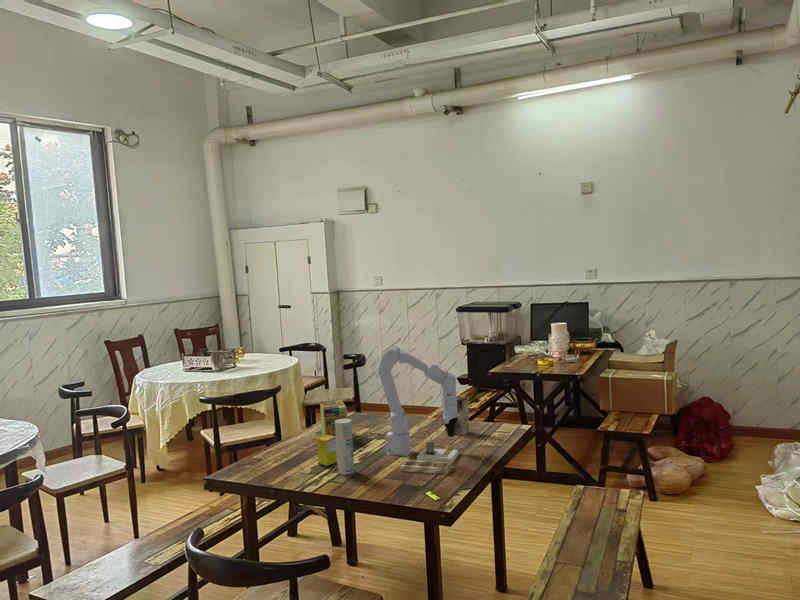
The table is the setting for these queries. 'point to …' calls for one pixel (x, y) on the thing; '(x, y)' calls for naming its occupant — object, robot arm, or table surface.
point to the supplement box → (327, 450)
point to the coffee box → (462, 416)
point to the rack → (426, 466)
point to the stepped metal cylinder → (430, 447)
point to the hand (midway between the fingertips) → (451, 436)
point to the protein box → (331, 415)
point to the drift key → (449, 449)
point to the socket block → (438, 456)
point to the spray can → (344, 446)
